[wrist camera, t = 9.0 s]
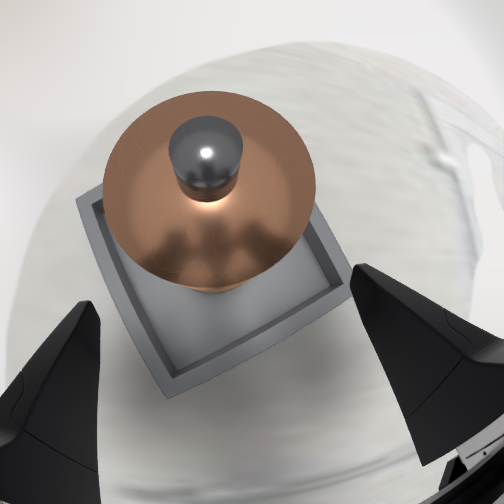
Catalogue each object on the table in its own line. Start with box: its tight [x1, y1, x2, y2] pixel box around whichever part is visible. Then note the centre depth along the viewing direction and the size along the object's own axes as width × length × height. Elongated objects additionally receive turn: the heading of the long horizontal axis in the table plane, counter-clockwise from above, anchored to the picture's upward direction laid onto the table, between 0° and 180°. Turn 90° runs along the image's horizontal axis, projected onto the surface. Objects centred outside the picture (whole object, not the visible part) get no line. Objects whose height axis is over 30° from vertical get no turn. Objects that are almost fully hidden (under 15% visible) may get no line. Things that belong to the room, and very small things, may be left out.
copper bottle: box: [102, 91, 316, 294], centre depth 12 cm, size 6×6×14 cm
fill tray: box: [75, 183, 353, 399], centre depth 18 cm, size 14×14×3 cm
